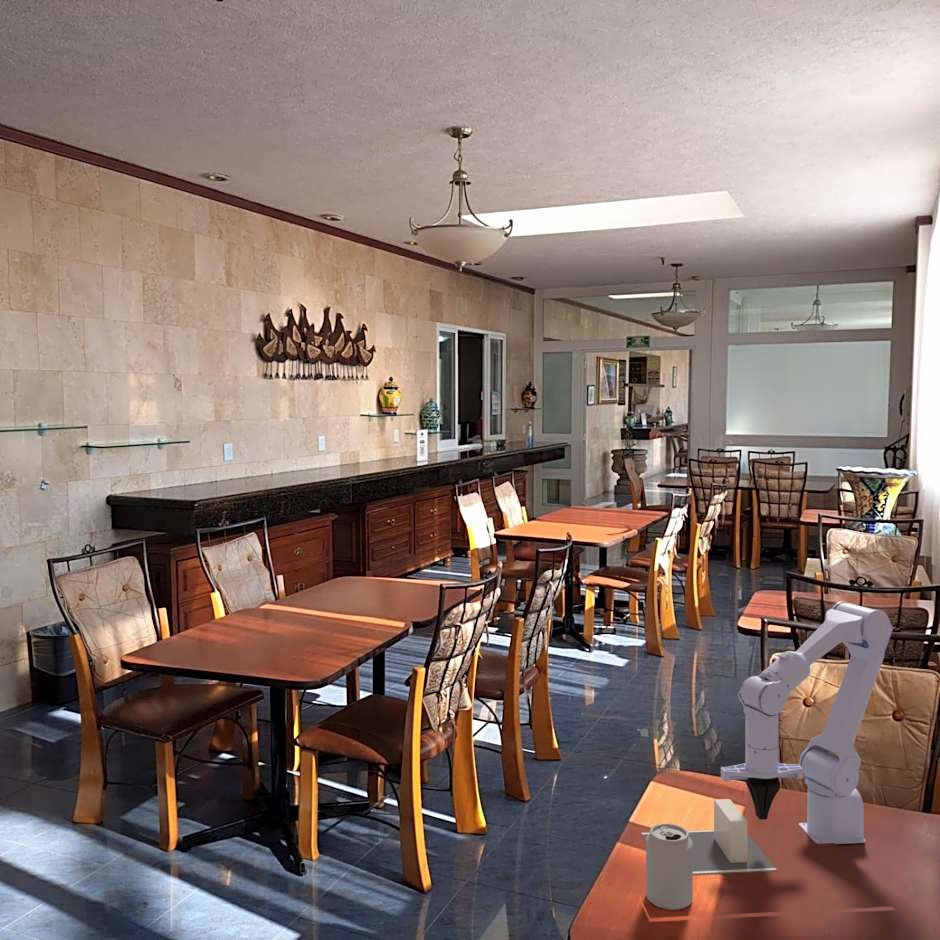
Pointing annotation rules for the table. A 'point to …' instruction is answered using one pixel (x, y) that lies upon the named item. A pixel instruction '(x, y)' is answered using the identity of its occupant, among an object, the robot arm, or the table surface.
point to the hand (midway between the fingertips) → (761, 817)
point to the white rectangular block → (730, 830)
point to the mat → (723, 856)
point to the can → (669, 867)
